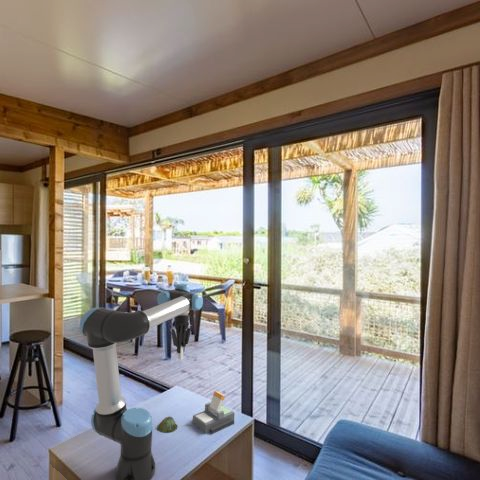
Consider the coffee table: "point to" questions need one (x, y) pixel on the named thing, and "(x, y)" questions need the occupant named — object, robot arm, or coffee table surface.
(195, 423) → the stepped grey box
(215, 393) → the lever
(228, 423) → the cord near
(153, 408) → the coffee table surface
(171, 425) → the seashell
